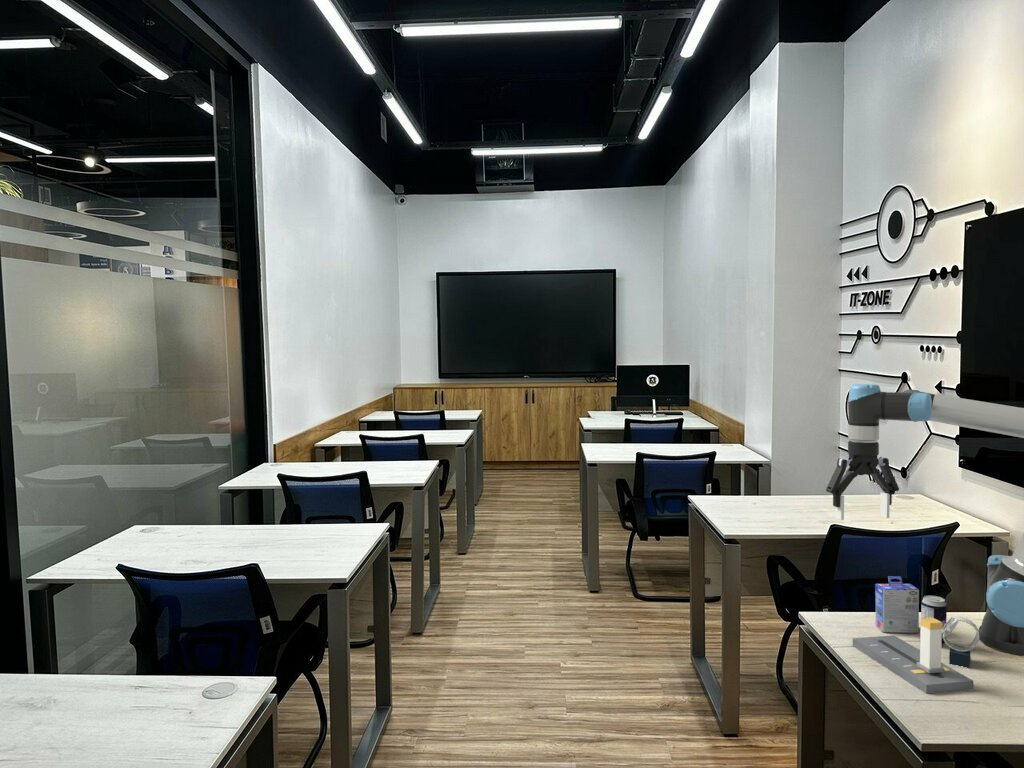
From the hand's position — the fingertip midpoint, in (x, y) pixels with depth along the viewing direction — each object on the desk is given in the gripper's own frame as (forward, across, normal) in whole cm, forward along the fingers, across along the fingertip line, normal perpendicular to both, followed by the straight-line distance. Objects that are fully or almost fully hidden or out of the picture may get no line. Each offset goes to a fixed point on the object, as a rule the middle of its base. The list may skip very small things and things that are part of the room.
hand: (862, 517), depth 189 cm
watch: (+32, -12, +21) cm, 40 cm away
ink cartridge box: (+32, -11, 0) cm, 34 cm away
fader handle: (+29, +2, +28) cm, 41 cm away
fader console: (+32, +2, +21) cm, 38 cm away
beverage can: (+32, -14, +10) cm, 36 cm away
